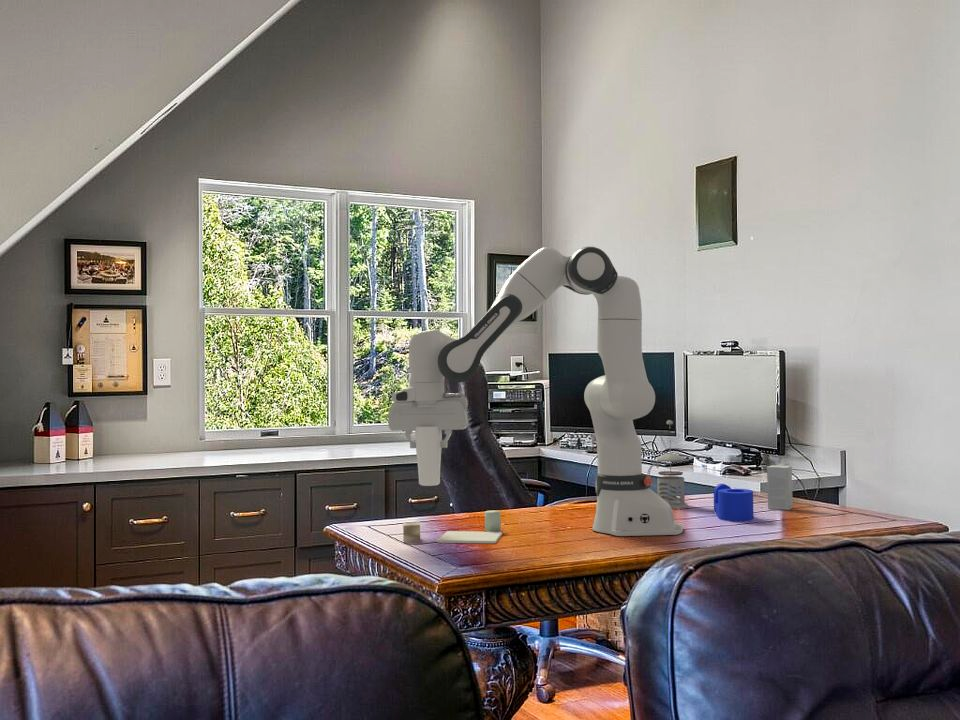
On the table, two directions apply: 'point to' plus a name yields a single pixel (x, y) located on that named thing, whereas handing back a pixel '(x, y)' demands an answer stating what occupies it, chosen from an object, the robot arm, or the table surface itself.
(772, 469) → the skincare box
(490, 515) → the sage cylinder
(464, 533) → the cream mat
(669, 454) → the french press
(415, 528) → the ash block
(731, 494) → the bracket
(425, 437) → the drinking glass
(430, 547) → the table surface
